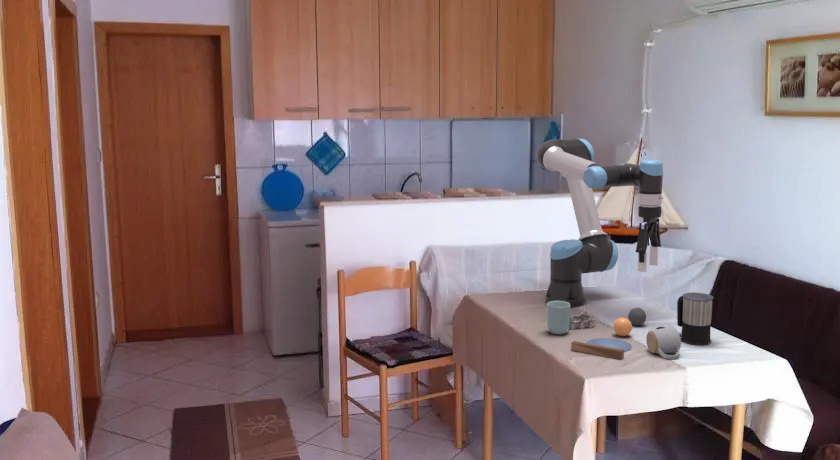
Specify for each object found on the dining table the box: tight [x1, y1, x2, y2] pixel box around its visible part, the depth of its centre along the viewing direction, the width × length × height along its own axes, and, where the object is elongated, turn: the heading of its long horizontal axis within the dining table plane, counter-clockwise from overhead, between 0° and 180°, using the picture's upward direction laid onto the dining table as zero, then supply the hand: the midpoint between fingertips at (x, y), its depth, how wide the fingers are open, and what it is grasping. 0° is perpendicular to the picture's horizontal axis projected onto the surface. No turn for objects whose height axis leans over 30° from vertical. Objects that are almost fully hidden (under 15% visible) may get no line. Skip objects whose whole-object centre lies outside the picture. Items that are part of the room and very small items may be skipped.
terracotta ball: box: [612, 317, 633, 337], centre depth 250 cm, size 6×6×6 cm
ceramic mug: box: [645, 326, 682, 360], centre depth 232 cm, size 11×8×8 cm
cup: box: [546, 301, 571, 335], centre depth 254 cm, size 8×8×10 cm
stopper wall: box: [570, 340, 625, 360], centre depth 233 cm, size 2×16×2 cm, turn 55°
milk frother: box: [655, 291, 714, 346], centre depth 243 cm, size 14×16×15 cm
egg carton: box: [568, 311, 596, 330], centre depth 262 cm, size 11×8×4 cm
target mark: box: [585, 337, 633, 353], centre depth 241 cm, size 14×14×1 cm
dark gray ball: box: [627, 307, 647, 326], centre depth 261 cm, size 6×6×6 cm
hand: (647, 268), depth 266 cm, fingers open, 11 cm apart
